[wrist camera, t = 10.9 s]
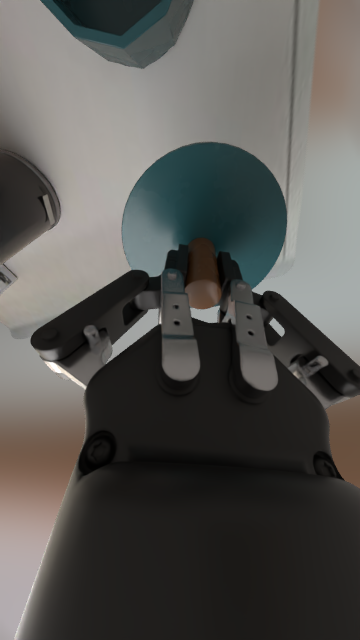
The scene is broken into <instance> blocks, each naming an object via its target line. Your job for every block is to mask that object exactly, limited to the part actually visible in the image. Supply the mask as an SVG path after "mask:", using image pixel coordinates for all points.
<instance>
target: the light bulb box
mask: <svg viewBox="0 0 360 640" xmlns="http://www.w3.org/2000/svg"><path fill="white" fill-rule="evenodd" d="M16 280H17V278H16V277H15V276H14V275H13V274H12V273H11V272H10V271H9V270H8V269H7V268H6V267H5V266H4V265H3V264H2V265H0V295H1V294H2V293H3V292H4V291H5V290H6V289H7V288H8V287H10V286H11V285H12V284H13V283H14V282H15V281H16Z"/></svg>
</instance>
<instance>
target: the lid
mask: <svg viewBox="0 0 360 640" xmlns="http://www.w3.org/2000/svg"><path fill="white" fill-rule="evenodd" d="M286 227H287V210H286V205H285V200H284V196H283V194H282V191H281V188H280V186H279V184H278V182H277V180H276V179H275V177H274V175H273V174H272V173H271V171H270V170H269V169H268V168H267V167H266V165H265V164H264V163H262V162H261V161H260V160H259V159H257V158H256V157H255V156H254V155H252V154H250V153H248V152H247V151H245V150H243V149H241V148H239V147H236V146H233V145H229V144H226V143H218V142H199V143H193V144H189V145H185V146H182V147H180V148H177V149H175V150H173V151H171V152H169V153H167V154H166V155H164V156H163V157H161V158H160V159H158V160H157V161H156V162H155V163H154V164H152V165H151V166H150V167H149V168H148V169H147V170H146V171H145V172H144V174H143V175H142V176H141V177H140V179H139V180H138V181H137V183H136V184H135V186H134V188H133V189H132V191H131V193H130V195H129V198H128V200H127V203H126V206H125V210H124V214H123V220H122V242H123V248H124V252H125V255H126V258H127V261H128V263H129V265H130V267H131V269H132V270H143V271H145V272H147V273H148V275H149V277H156V276H159V275H161V273H162V271H163V270H164V268H165V263H166V258H167V253H168V252H169V251H170V250H177V251H178V248H179V244H183V245H188V265H187V275H186V280H185V283H184V289H185V293H188V297H189V304H190V308H196V309H207V308H211V307H214V306H219V305H216V304H217V303H218V302H219V301H220V299H221V297H222V289H221V282H220V276H219V270H218V263H217V256H218V253H219V251H223V252H229V253H230V256H231V260H235V261H236V262H237V263H238V265H239V268H240V271H241V275H242V278H243V281H245V282H247V283H248V284H249V285H250V286H251V290H252V289H253V288H254V287H256V286H257V285H258V284H259V283H260V282H261V281H262V280H263V279H264V278H265V277H266V275H267V274H268V273H269V272H270V270H271V269H272V267H273V266H274V264H275V262H276V260H277V259H278V257H279V254H280V252H281V249H282V247H283V243H284V239H285V235H286Z"/></svg>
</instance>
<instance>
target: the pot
mask: <svg viewBox="0 0 360 640" xmlns="http://www.w3.org/2000/svg"><path fill="white" fill-rule="evenodd" d="M40 1H41V2H42V3H43V4H44V5H45V6H46V7H47V8H48V9H49V10H50V11H51V12H52V14H53V15H54V16H55V17H56V18H57V19H58V20H59V21H60V22H61V23H62V24H63V25H64V27H65V28H66V29H67V30H68V31H69V32H70V33H71V34H72V35H73V36H74V37H75V38H76V39H78V40H79V41H81V42H82V43H83V44H85V45H86V46H88V47H89V48H91V49H92V50H93V51H95V52H96V53H98V54H99V55H101V56H102V57H103V58H105V59H106V60H108V61H111V62H115V63H119V64H122V65H125V66H130V67H136V68H141V69H144V68H145V67H146V66H148V65H149V64H151V63H153V62H155V61H156V60H158V59H159V58H160V57H162V56H163V55H164V54H165V53H166V52H167V51H168V50H169V49H170V48H172V47H173V46H174V45H175V43H176V41H177V38H178V36H179V34H180V32H181V30H182V28H183V26H184V24H185V22H186V19H187V17H188V14H189V11H190V9H191V6H192V3H193V0H40Z"/></svg>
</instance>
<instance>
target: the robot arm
mask: <svg viewBox="0 0 360 640" xmlns="http://www.w3.org/2000/svg"><path fill="white" fill-rule="evenodd" d="M59 218H60V206H59V202H58V199H57V196H56V194H55V192H54V190H53V188H52V187H51V185H50V184H49V182H48V181H47V180H46V178H45V177H44V176H43V175H42V174H41V173H40V171H39V170H38V169H36V168H35V167H34V166H33V165H32V164H31V163H29V162H28V161H27V160H25V159H24V158H22V157H20V156H19V155H17V154H15V153H12V152H9V151H5V150H0V265H2V264H3V263H4V262H6V261H7V260H8V259H10V258H11V257H12V256H14V255H15V254H16V253H18V252H19V251H20V250H22V249H23V248H24V247H26V246H27V245H28V244H30V243H31V242H32V241H34V240H35V239H37V238H38V237H39V236H41V235H42V234H43V233H45V232H46V231H48V230H50V229H51V228H53V227H54V226H55V225H56V224H57V223H58V221H59ZM217 263H218V270H219V276H220V282H221V289H222V297H221V299H220V301H219V302H218V303H217V304H216V305H220V308H219V310H218V320H217V323H207V322H204V321H201V320H198V319H195V318H192V317H191V311H190V304H189V297H188V293H185V289H184V283H185V280H186V275H187V265H188V245H183V244H179V248H178V251H177V250H170V251H169V252H168V253H167V258H166V263H165V268H164V270H163V271H162V273H161V275H159V276H156V277H149V275H148V273H147V272H145V271H143V270H131V271H129V272H127V273H126V274H124V275H122V276H121V277H119V278H118V279H116V280H115V281H113V282H111V283H110V284H108V285H107V286H105V287H104V288H102V289H100V290H99V291H97V292H96V293H94V294H93V295H91V296H89V297H88V298H86V299H85V300H83V301H81V302H80V303H78V304H77V305H75V306H74V307H72V308H70V309H69V310H67V311H66V312H64V313H63V314H61V315H59V316H58V317H56V318H55V319H53V320H51V321H50V322H48V323H47V324H45V325H44V326H42V327H40V328H39V329H38V330H36V331H35V332H34V334H33V335H32V337H31V345H32V346H33V347H34V349H35V350H36V351H37V352H38V353H39V355H40V357H41V358H42V360H43V361H44V362H45V363H46V364H47V365H48V366H49V367H50V369H51V370H52V371H54V372H55V373H56V374H57V375H58V377H60V378H61V379H64V380H70V379H71V380H73V381H74V382H75V383H77V384H78V385H79V386H81V387H82V388H83V389H85V393H84V400H83V401H84V402H83V404H84V410H85V419H86V428H85V437H84V442H83V445H82V449H81V452H80V454H79V457H78V459H77V462H76V465H75V467H74V470H73V472H72V475H71V478H70V481H69V484H68V487H67V490H66V492H65V495H64V498H63V501H62V504H61V507H60V509H59V512H58V515H57V518H56V521H55V524H54V527H53V529H52V532H51V535H50V538H49V541H48V544H47V547H46V549H45V552H44V555H43V558H42V561H41V564H40V567H39V569H38V572H37V575H36V578H35V581H34V584H33V587H32V589H31V592H30V595H29V598H28V601H27V604H26V606H25V609H24V612H23V615H22V618H21V621H20V624H19V627H18V629H17V632H16V635H15V638H14V640H360V489H359V488H358V487H356V486H354V485H353V484H351V483H349V482H346V481H345V480H344V479H343V478H342V477H341V475H340V474H339V472H338V470H337V468H336V466H335V464H334V462H333V459H332V454H331V450H330V444H329V420H328V416H327V413H326V411H325V409H327V408H328V407H330V406H331V405H334V404H337V403H339V402H342V401H344V400H347V399H349V398H352V397H355V396H357V395H360V366H359V365H357V364H356V363H355V362H354V361H353V360H352V359H351V358H350V357H349V356H347V355H346V354H345V353H344V352H343V351H342V350H341V349H340V348H339V347H338V346H336V345H335V344H334V343H333V342H332V341H331V340H330V339H329V338H328V337H326V336H325V335H324V334H323V333H322V332H321V331H320V330H319V329H318V328H317V327H315V326H314V325H313V324H312V323H311V322H310V321H309V320H308V319H307V318H305V317H304V316H303V315H302V314H301V313H300V312H299V311H298V310H297V309H296V308H294V307H293V306H292V305H291V304H290V303H289V302H288V301H287V300H286V299H284V298H283V297H282V296H281V295H280V294H278V293H276V292H273V291H265V292H264V293H263V295H260V294H257V293H254V292H252V290H251V286H250V285H249V284H248V283H247V282H245V281H243V278H242V275H241V271H240V268H239V265H238V263H237V262H236V261H235V260H231V256H230V253H229V252H223V251H219V253H218V256H217ZM157 308H159V321H158V325H157V326H155V327H154V328H153V329H151V330H150V331H149V332H148V333H146V334H145V335H144V336H142V337H141V338H140V339H138V340H137V341H136V342H135V343H133V344H132V345H131V346H129V347H128V348H127V349H125V350H124V351H123V352H121V353H120V354H119V355H118V356H116V357H115V358H113V359H112V360H111V361H110V362H108V363H107V364H106V362H107V361H108V359H109V358H110V356H111V355H112V351H113V350H112V345H113V344H114V343H115V342H116V341H117V340H118V339H119V338H120V337H121V336H122V335H123V334H124V333H126V332H127V331H128V330H129V329H130V328H131V327H132V326H133V325H134V324H135V323H136V322H137V321H138V320H139V319H140V318H142V317H143V316H144V315H145V314H146V313H147V312H148V309H157ZM273 318H275V319H276V321H278V322H279V324H280V325H281V326H282V327H283V328H284V330H285V334H284V335H283V336H282V337H281V336H280V335H279V334H278V333H277V332H276V331H275V330H274V329H273V328H272V326H271V325H270V324H269V323H270V321H271V320H272V319H273Z"/></svg>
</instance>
